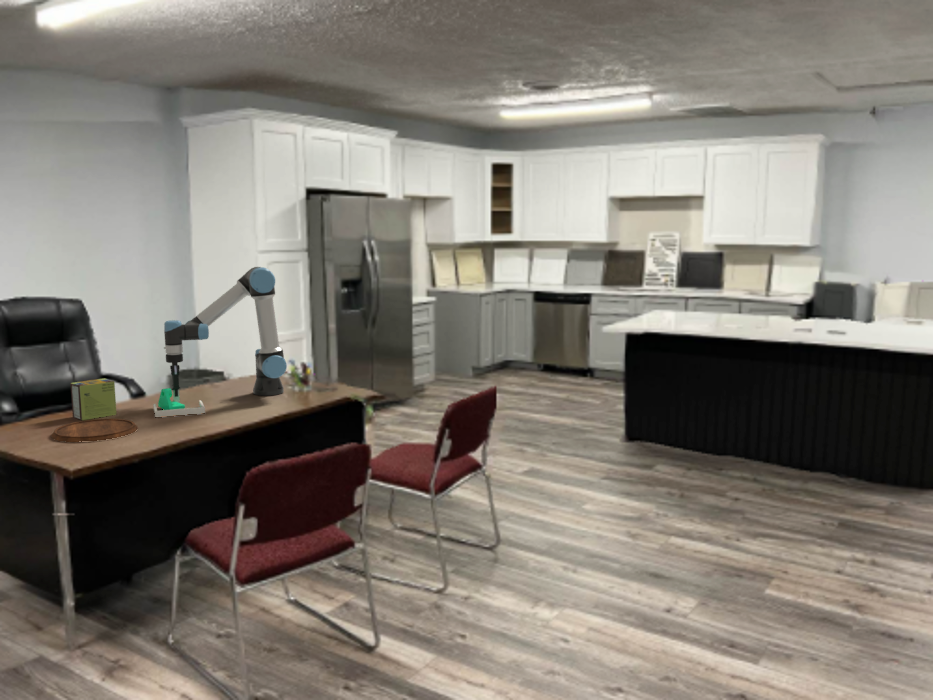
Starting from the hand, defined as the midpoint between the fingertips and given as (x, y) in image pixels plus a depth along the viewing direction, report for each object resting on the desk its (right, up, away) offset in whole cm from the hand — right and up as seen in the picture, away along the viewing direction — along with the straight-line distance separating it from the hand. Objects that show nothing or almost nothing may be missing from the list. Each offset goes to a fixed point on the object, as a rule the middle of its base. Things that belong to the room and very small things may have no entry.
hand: (176, 402), depth 367 cm
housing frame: (+6, -3, -12) cm, 14 cm away
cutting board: (-15, -9, -49) cm, 52 cm away
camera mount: (+1, -3, -7) cm, 8 cm away
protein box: (-29, -5, -20) cm, 36 cm away
